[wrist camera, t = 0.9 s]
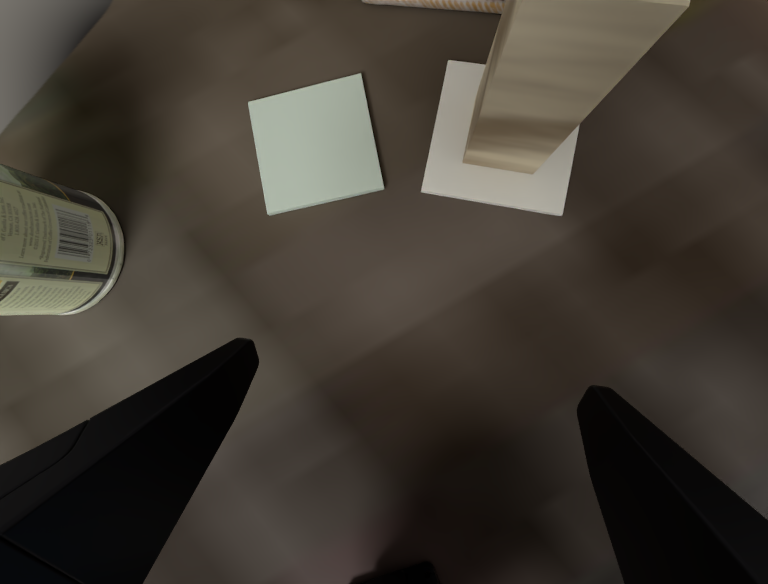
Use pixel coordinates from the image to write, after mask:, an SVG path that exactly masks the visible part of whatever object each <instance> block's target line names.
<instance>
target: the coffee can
mask: <svg viewBox="0 0 768 584" xmlns="http://www.w3.org/2000/svg"><path fill="white" fill-rule="evenodd" d="M123 257H124V239H123V233H122V230H121V227H120V224H119V222H118V220H117V218H116V216H115V214H114V213H113V212H112V211H111V209H110V208H109V207H108V206H107V205H106V204H105V203H104V202H103V201H102V200H100V199H99V198H97V197H95V196H93V195H91V194H89V193H86V192H83V191H80V190H75V189H72V188H69V187H66V186H63V185H60V184H57V183H54V182H51V181H48V180H46V179H43V178H39V177H36V176H33V175H31V174H28V173H25V172H22V171H19V170H17V169H14V168H11V167H8V166H6V165H3V164H0V315H37V314H55V315H69V314H76V313H79V312H82V311H84V310H86V309H88V308H90V307H92V306H93V305H95V304H97V303H98V302H99V301H100V300H101V299H102V298H103V297H104V296H105V295H107V293H108V292H109V291H110V290H111V288H112V287H113V286H114V284H115V282H116V280H117V278H118V276H119V274H120V271H121V268H122V265H123Z"/></svg>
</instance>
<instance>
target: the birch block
mask: <svg viewBox="0 0 768 584" xmlns="http://www.w3.org/2000/svg"><path fill="white" fill-rule="evenodd" d="M689 5H690V0H506V3H505V6H504V9H503V12H502V15H501V18H500V22H499V25H498V28H497V31H496V34H495V37H494V41H493V44H492V47H491V50H490V53H489V56H488V60H487V63H486V66H485V69H484V72H483V75H482V79H481V82H480V85H479V88H478V91H477V94H476V98H475V103H474V108H473V113H472V118H471V123H470V128H469V132H468V137H467V142H466V147H465V152H464V157H463V162H462V163H465V164H472V165H478V166H484V167H490V168H496V169H502V170H509V171H515V172H521V173H527V174H534V173H535V172H536V170H537V169H538V168H539V167H540V166H541V165H542V164H543V163H544V162H545V161H546V160H547V159H548V158H549V156H550V155H551V154H552V153H553V152H554V151H555V150H556V149H557V148H558V147H559V146H560V145H561V144H562V143H563V141H564V140H565V139H566V138H567V137H568V136H569V135H570V134H571V133H572V132H573V131H574V130H575V129H576V127H577V126H578V125H579V124H580V123H581V122H582V121H583V120H584V119H585V118H586V117H587V116H588V115H589V113H590V112H591V111H592V110H593V109H594V108H595V107H596V106H597V105H598V104H599V103H600V102H601V101H602V99H603V98H604V97H605V96H606V95H607V94H608V93H609V92H610V91H611V90H612V89H613V88H614V87H615V85H616V84H617V83H618V82H619V81H620V80H621V79H622V78H623V77H624V76H625V75H626V74H627V73H628V72H629V70H630V69H631V68H632V67H633V66H634V65H635V64H636V63H637V62H638V61H639V60H640V59H641V58H642V56H643V55H644V54H645V53H646V52H647V51H648V50H649V49H650V48H651V47H652V46H653V45H654V44H655V42H656V41H657V40H658V39H659V38H660V37H661V36H662V35H663V34H664V33H665V32H666V31H667V30H668V28H669V27H670V26H671V25H672V24H673V23H674V22H675V21H676V20H677V19H678V18H679V17H680V16H681V14H682V13H683V12H684V11H685V10H686V9H687V8H688V7H689Z"/></svg>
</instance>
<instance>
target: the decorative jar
mask: <svg viewBox="0 0 768 584" xmlns="http://www.w3.org/2000/svg"><path fill="white" fill-rule="evenodd" d="M362 1H363V2H364V3H367V4H376V5H395V6H406V7H419V8H431V9H445V10H459V11H472V12H484V13H496V14H502V12H503V9H504V6H505V3H506V0H362Z"/></svg>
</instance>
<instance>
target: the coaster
mask: <svg viewBox="0 0 768 584" xmlns="http://www.w3.org/2000/svg"><path fill="white" fill-rule="evenodd" d="M248 106H249V111H250V117H251V123H252V129H253V134H254V140H255V146H256V152H257V157H258V163H259V169H260V175H261V180H262V186H263V192H264V198H265V203H266V209H267V214H268V215H274V214H279V213H283V212H287V211H292V210H296V209H301V208H305V207H309V206H314V205H318V204H323V203H327V202H332V201H336V200H340V199H345V198H349V197H354V196H358V195H362V194H367V193H371V192H376V191H380V190H384V185H383V180H382V175H381V170H380V165H379V161H378V156H377V151H376V146H375V141H374V136H373V131H372V126H371V121H370V116H369V111H368V106H367V101H366V96H365V91H364V86H363V81H362V76H361V73H359V74H356V75H352V76H348V77H344V78H340V79H336V80H332V81H328V82H324V83H320V84H317V85H313V86H309V87H305V88H301V89H297V90H293V91H289V92H285V93H281V94H278V95H274V96H270V97H266V98H262V99H258V100H254V101H250V102H248Z"/></svg>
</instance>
